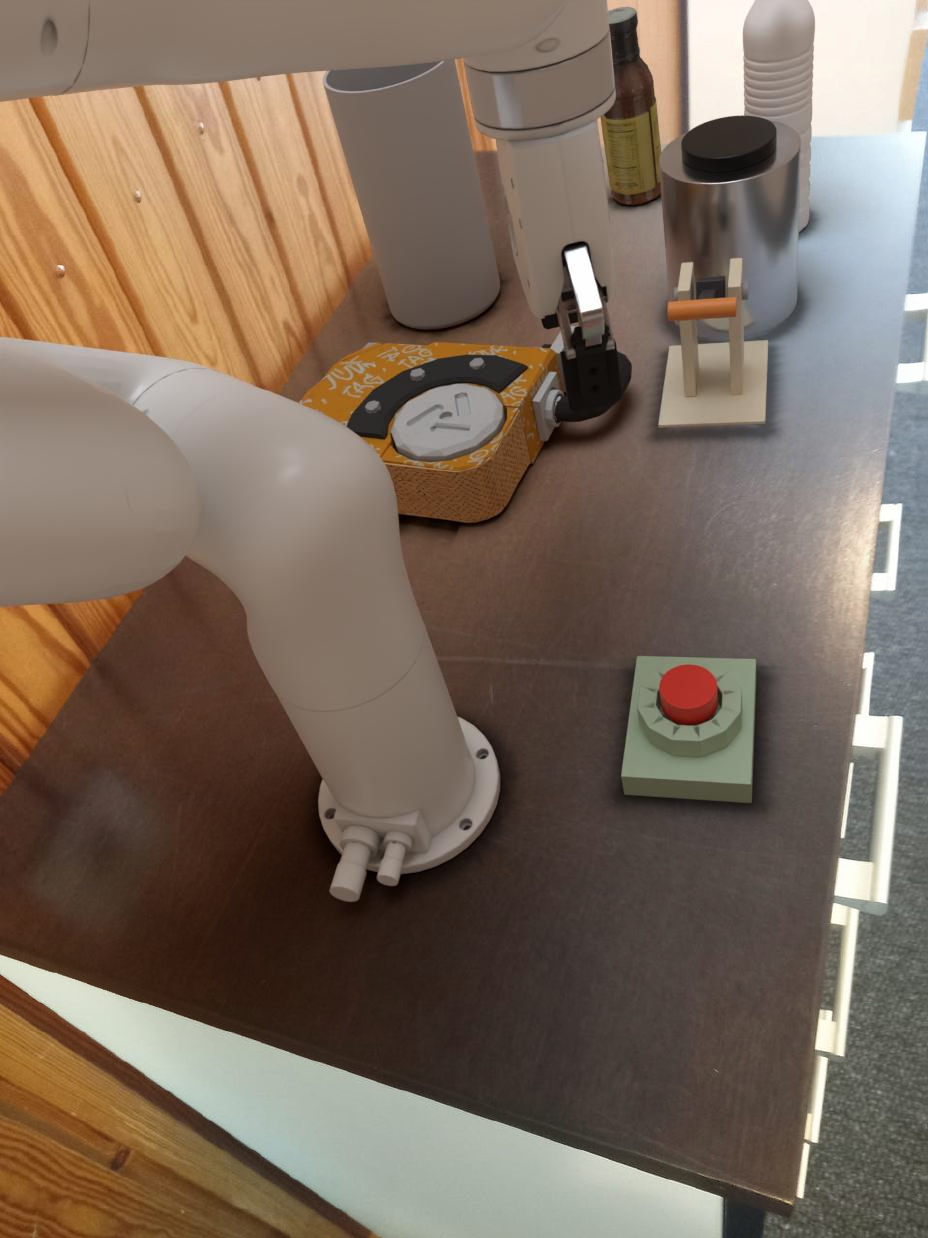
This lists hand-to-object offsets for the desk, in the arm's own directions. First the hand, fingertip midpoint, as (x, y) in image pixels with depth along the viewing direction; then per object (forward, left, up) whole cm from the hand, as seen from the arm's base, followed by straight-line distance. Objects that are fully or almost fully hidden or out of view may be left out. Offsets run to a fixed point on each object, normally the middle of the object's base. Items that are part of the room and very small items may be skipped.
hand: (580, 361), depth 66 cm
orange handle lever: (+19, -6, -9) cm, 22 cm away
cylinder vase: (+43, +24, -20) cm, 53 cm away
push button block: (-14, -7, -20) cm, 26 cm away
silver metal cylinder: (+37, -7, -20) cm, 43 cm away
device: (+17, +17, -20) cm, 31 cm away
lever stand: (+24, -6, -20) cm, 32 cm away
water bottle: (+52, -11, -20) cm, 57 cm away
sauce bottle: (+63, +5, -20) cm, 66 cm away
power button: (-14, -7, -17) cm, 23 cm away
